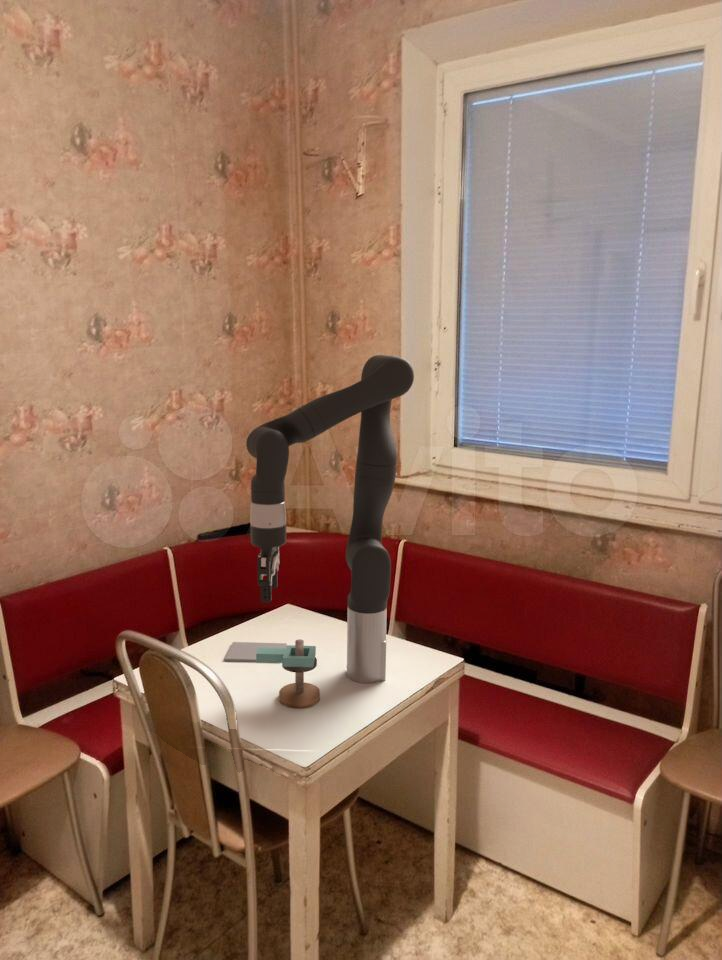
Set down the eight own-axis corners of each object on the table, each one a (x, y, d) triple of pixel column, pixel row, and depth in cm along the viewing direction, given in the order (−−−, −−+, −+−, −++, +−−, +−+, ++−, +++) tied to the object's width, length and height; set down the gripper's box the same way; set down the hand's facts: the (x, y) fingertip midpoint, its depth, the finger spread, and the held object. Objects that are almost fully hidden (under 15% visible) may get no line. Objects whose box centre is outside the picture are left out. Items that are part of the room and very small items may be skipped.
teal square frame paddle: (315, 654, 158) (315, 646, 158) (312, 667, 152) (312, 658, 151) (260, 652, 158) (259, 644, 158) (254, 665, 152) (254, 657, 152)
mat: (286, 645, 184) (286, 643, 184) (281, 662, 174) (281, 660, 174) (233, 644, 184) (232, 641, 184) (224, 661, 174) (224, 658, 174)
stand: (321, 689, 161) (321, 633, 158) (318, 709, 152) (318, 650, 150) (282, 688, 161) (281, 632, 159) (276, 707, 152) (275, 649, 150)
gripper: (281, 531, 142) (282, 607, 145) (290, 514, 156) (290, 584, 159) (244, 530, 142) (245, 606, 145) (256, 513, 156) (257, 583, 159)
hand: (269, 595), depth 152 cm, fingers open, 8 cm apart
